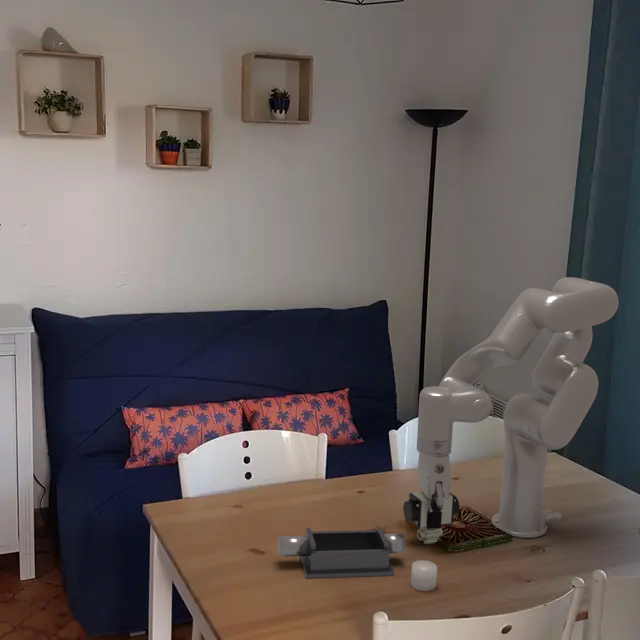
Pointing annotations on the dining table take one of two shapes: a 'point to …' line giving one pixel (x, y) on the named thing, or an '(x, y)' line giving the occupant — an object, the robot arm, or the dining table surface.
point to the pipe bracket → (343, 552)
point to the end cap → (423, 575)
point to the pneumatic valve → (418, 510)
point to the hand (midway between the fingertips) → (429, 521)
